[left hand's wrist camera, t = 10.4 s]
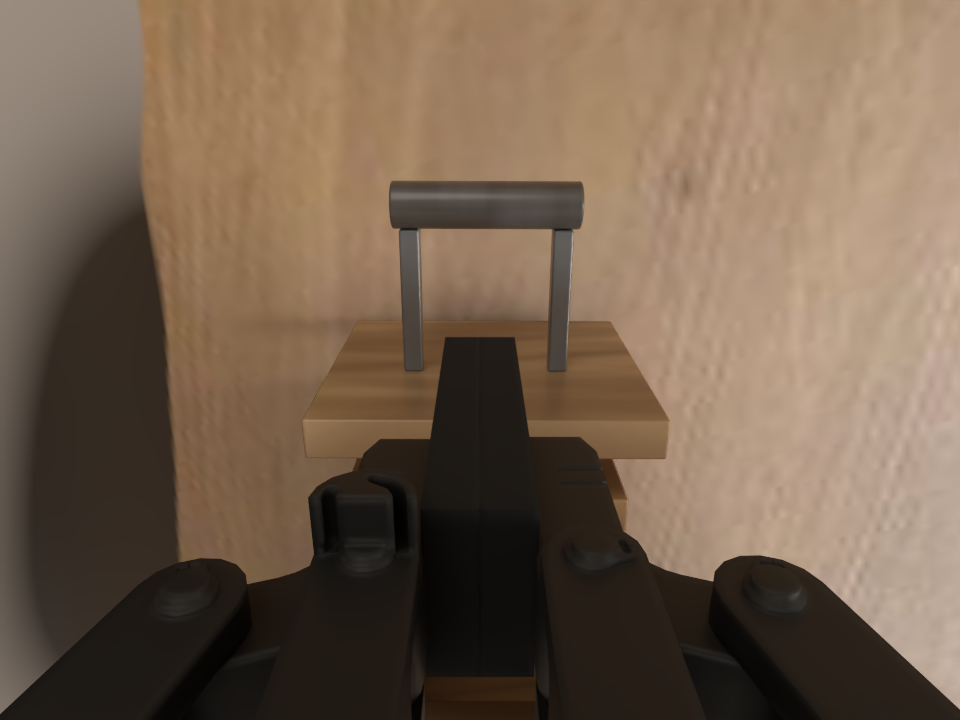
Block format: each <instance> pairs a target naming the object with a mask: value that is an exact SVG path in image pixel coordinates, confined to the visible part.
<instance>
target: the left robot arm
mask: <svg viewBox="0 0 960 720" xmlns="http://www.w3.org/2000/svg"><path fill="white" fill-rule="evenodd" d="M308 501H309V510H310V520H311V529H312V538H313V548H314V556H313V559H312V562H311V564H310V566H309V567H307V568H304V569H302V570H300V571H298V572H296V573H293V574H289V575H286V576H283V577H279V578H275V579H270V580H266V581H261V582H257V583H252V584H247V581H246V575H245V573H244V572H243V571H242V570H241V569H240V568H239V567H238V566H237V565H236V564H234V563H231V562H228V561H225V560H222V559H204V558H200V559H195V560H190V561H185V562H180V563H177V564H174V565H172V566H170V567H167V568H165V569H163V570H160V571H158V572H156V573H155V574H153V575H152V576H150V577H149V578H148V579H146V580H145V581H143V582H142V583H141V584H139V585H138V586H137V587H136V588H135V589H134V590H133V591H131V592H130V593H129V594H128V595H127V596H126V597H125V598H124V599H123V600H122V601H121V602H120V603H119V604H118V605H117V606H115V607H114V608H113V609H112V610H111V611H110V612H109V613H108V614H107V615H106V616H105V617H104V618H103V619H102V620H100V621H99V622H98V623H97V624H96V625H95V626H94V627H93V628H92V629H91V630H90V631H89V632H88V633H87V634H86V635H84V636H83V637H82V638H81V639H80V640H79V641H78V642H77V643H76V644H75V645H74V646H73V647H72V648H71V649H70V650H69V651H67V652H66V653H65V654H64V655H63V656H62V657H61V658H60V659H59V660H58V661H57V662H56V663H55V664H53V665H52V666H51V667H50V668H49V669H48V670H47V671H46V672H45V673H44V674H43V675H42V676H41V677H40V678H39V679H37V680H36V681H35V682H34V683H33V684H32V685H31V686H30V687H29V688H28V689H27V690H26V691H25V692H24V693H22V694H21V695H20V696H19V697H18V698H17V699H16V700H15V701H14V702H13V703H12V704H11V705H10V706H9V707H8V708H6V709H5V710H4V711H3V712H2V713H1V714H0V720H424V718H425V694H424V677H425V666H426V677H534V663H535V673H536V694H535V719H534V720H960V709H959V708H957V707H956V706H955V705H954V704H953V703H952V702H951V701H950V700H949V699H948V698H947V697H946V696H945V695H943V694H942V693H941V692H940V691H939V690H938V689H937V688H936V687H935V686H934V685H933V684H932V683H931V682H929V681H928V680H927V679H926V678H925V677H924V676H923V675H922V674H921V673H920V672H919V671H918V670H917V669H915V668H914V667H913V666H912V665H911V664H910V663H909V662H908V661H907V660H906V659H905V658H904V657H903V656H901V655H900V654H899V653H898V652H897V651H896V650H895V649H894V648H893V647H892V646H891V645H890V644H889V643H887V642H886V641H885V640H884V639H883V638H882V637H881V636H880V635H879V634H878V633H877V632H876V631H875V630H873V629H872V628H871V627H870V626H869V625H868V624H867V623H866V622H865V621H864V620H863V619H862V618H861V617H859V616H858V615H857V614H856V613H855V612H854V611H853V610H852V609H851V608H850V607H849V606H848V605H847V604H845V603H844V602H843V601H842V600H841V599H840V598H839V597H838V596H837V595H836V594H835V593H834V592H833V591H831V590H830V589H829V588H828V587H827V586H826V585H825V584H824V583H823V582H822V581H820V580H819V579H817V578H816V577H815V576H813V575H812V574H810V573H809V572H807V571H806V570H805V569H803V568H800V567H798V566H796V565H793V564H791V563H788V562H786V561H784V560H780V559H775V558H770V557H765V556H739V557H736V558H733V559H730V560H727V561H724V562H723V563H722V564H721V566H720V567H719V568H718V569H717V570H716V571H715V575H714V581H713V582H712V581H707V580H703V579H698V578H693V577H689V576H684V575H680V574H677V573H673V572H670V571H667V570H664V569H662V568H660V567H657V566H655V565H653V564H651V563H649V561H648V558H647V555H646V553H645V551H644V550H643V548H642V547H641V546H640V544H639V543H638V541H637V540H635V539H634V538H632V537H631V536H629V535H628V534H626V533H625V532H624V531H623V529H622V526H621V523H620V520H619V517H618V514H617V511H616V508H615V505H614V502H613V499H612V496H611V493H610V490H609V487H608V485H607V481H606V478H605V475H604V472H603V471H602V466H601V463H600V460H599V457H598V454H597V451H596V450H595V449H593V448H592V447H591V446H590V445H589V444H588V443H586V442H585V441H584V440H583V439H582V438H581V437H529V430H528V423H527V417H526V410H525V403H524V396H523V390H522V383H521V376H520V369H519V363H518V356H517V349H516V342H515V337H445V342H444V349H443V356H442V363H441V369H440V376H439V383H438V390H437V396H436V403H435V410H434V417H433V423H432V430H431V437H430V439H380V440H378V441H377V442H376V443H375V444H374V445H373V446H371V447H370V448H369V449H368V450H367V451H366V452H365V453H364V454H363V457H362V460H361V463H360V466H359V469H358V471H355V472H349V473H346V474H342V475H339V476H336V477H333V478H331V479H329V480H327V481H326V482H324V483H322V484H321V485H319V486H317V487H316V489H315V490H314V491H313V492H312V494H311V495H310V496H309V497H308Z"/></svg>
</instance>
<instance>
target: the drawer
mask: <svg viewBox="0 0 960 720" xmlns="http://www.w3.org/2000/svg"><path fill="white" fill-rule="evenodd" d="M389 212H390V221H391V225H392V228H394V229H400V230H399V249H400V274H401V300H402V321H357V323H356V325H355V327H354V329H353V330H352V332H351V334H350V336H349V337H348V339H347V341H346V343H345V345H344V346H343V348H342V350H341V352H340V353H339V355H338V357H337V359H336V361H335V362H334V364H333V366H332V368H331V369H330V371H329V373H328V375H327V377H326V378H325V380H324V382H323V384H322V385H321V387H320V389H319V391H318V393H317V394H316V396H315V398H314V400H313V401H312V403H311V405H310V407H309V409H308V410H307V412H306V414H305V416H304V418H303V419H302V428H303V438H304V448H305V456H306V457H307V458H357V459H356V462H355V465H354V468H353V471H352V472H355V471H358V469H359V466H360V463H361V460H362V457H363V454H364V453H365V452H366V451H367V450H368V449H369V448H370V447H371V446H373V445H374V444H375V443H376V442H377V441H378V440H380V439H430V437H431V430H432V423H433V417H434V410H435V403H436V396H437V390H438V383H439V376H440V369H441V363H442V356H443V349H444V342H445V337H515V342H516V349H517V356H518V363H519V369H520V376H521V383H522V390H523V396H524V403H525V410H526V417H527V423H528V430H529V437H581V438H582V439H583V440H584V441H585V442H586V443H588V444H589V445H590V446H591V447H592V448H593V449H595V450H596V451H597V454H598V457H599V460H600V463H601V466H602V471H603V472H604V475H605V478H606V481H607V485H608V487H609V490H610V493H611V496H612V499H613V502H614V505H615V508H616V511H617V514H618V517H619V520H620V523H621V526H622V529H623V531H624V532H625V531H626V521H627V511H628V498H627V496H626V493H625V490H624V488H623V485H622V482H621V480H620V477H619V474H618V472H617V469H616V466H615V464H614V461H613V459H666V457H667V449H668V441H669V432H670V424H671V422H670V420H669V418H668V416H667V415H666V413H665V411H664V410H663V408H662V406H661V405H660V403H659V401H658V400H657V398H656V396H655V395H654V393H653V391H652V390H651V388H650V386H649V385H648V383H647V381H646V380H645V378H644V376H643V375H642V373H641V371H640V370H639V368H638V366H637V365H636V363H635V361H634V360H633V358H632V356H631V355H630V353H629V351H628V350H627V348H626V346H625V345H624V343H623V341H622V340H621V338H620V336H619V335H618V333H617V331H616V330H615V328H614V326H613V325H612V323H611V322H580V321H569V312H570V294H571V275H572V256H573V238H574V232H573V230H572V229H580V228H581V225H582V222H583V215H584V188H583V184H582V182H567V181H392V182H391V184H390V190H389ZM420 229H552V244H551V267H550V291H549V315H548V321H423V309H422V273H421V237H420ZM424 694H425V701H535V694H536V673H535V663H534V677H426V666H425V677H424Z"/></svg>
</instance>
